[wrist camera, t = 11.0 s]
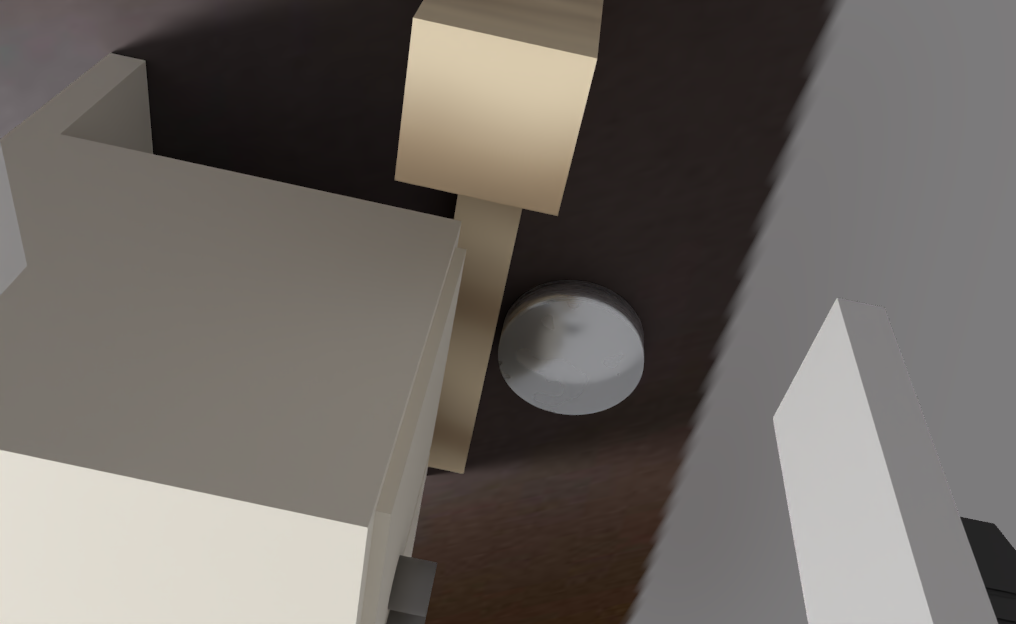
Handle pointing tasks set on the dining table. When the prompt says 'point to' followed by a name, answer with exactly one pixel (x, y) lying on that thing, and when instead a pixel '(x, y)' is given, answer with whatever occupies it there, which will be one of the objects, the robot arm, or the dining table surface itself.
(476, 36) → the l-shaped wooden piece
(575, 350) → the disc
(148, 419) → the cabinet
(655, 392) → the dining table surface
